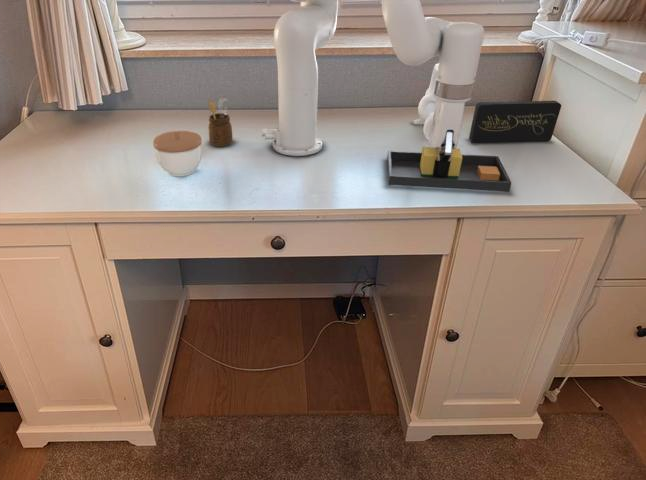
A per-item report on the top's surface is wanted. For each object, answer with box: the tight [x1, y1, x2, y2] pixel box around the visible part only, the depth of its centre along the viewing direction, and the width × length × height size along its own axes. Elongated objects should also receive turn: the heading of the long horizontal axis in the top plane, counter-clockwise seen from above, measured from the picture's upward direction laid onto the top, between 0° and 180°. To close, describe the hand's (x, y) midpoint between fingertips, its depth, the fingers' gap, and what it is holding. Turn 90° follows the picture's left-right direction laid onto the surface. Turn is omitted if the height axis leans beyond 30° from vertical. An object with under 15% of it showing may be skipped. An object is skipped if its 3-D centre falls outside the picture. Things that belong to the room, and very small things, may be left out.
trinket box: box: [152, 130, 203, 178], centre depth 116 cm, size 11×11×9 cm
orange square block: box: [477, 166, 500, 181], centre depth 114 cm, size 4×4×2 cm
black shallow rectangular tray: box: [386, 150, 512, 193], centre depth 115 cm, size 25×14×3 cm, turn 82°
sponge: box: [420, 146, 463, 179], centre depth 114 cm, size 8×5×5 cm, turn 82°
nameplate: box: [468, 100, 562, 144], centre depth 130 cm, size 21×2×10 cm, turn 93°
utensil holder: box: [207, 97, 233, 148], centre depth 130 cm, size 6×6×12 cm
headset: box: [413, 62, 439, 147], centre depth 131 cm, size 20×7×18 cm, turn 173°
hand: (438, 171), depth 115 cm, fingers closed on sponge, 5 cm apart
